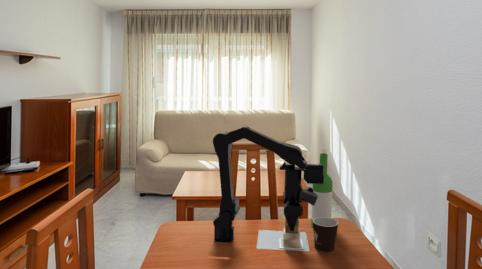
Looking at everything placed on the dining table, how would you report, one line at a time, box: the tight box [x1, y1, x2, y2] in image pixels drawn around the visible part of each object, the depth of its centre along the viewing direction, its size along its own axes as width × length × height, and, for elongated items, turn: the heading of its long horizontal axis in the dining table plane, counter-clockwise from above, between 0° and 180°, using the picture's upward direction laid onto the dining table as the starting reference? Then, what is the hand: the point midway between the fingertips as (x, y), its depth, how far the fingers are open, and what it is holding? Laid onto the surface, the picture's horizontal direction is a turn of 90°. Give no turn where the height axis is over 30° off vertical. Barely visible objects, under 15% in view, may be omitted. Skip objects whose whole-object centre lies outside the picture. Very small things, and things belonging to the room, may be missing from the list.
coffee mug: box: [312, 217, 339, 253], centre depth 124 cm, size 12×9×10 cm
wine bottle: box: [310, 152, 334, 228], centre depth 140 cm, size 8×8×30 cm
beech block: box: [282, 226, 301, 248], centre depth 125 cm, size 6×6×5 cm
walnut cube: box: [284, 217, 300, 233], centre depth 124 cm, size 4×4×4 cm
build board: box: [256, 229, 311, 252], centre depth 129 cm, size 18×16×1 cm
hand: (291, 225), depth 124 cm, fingers open, 9 cm apart
